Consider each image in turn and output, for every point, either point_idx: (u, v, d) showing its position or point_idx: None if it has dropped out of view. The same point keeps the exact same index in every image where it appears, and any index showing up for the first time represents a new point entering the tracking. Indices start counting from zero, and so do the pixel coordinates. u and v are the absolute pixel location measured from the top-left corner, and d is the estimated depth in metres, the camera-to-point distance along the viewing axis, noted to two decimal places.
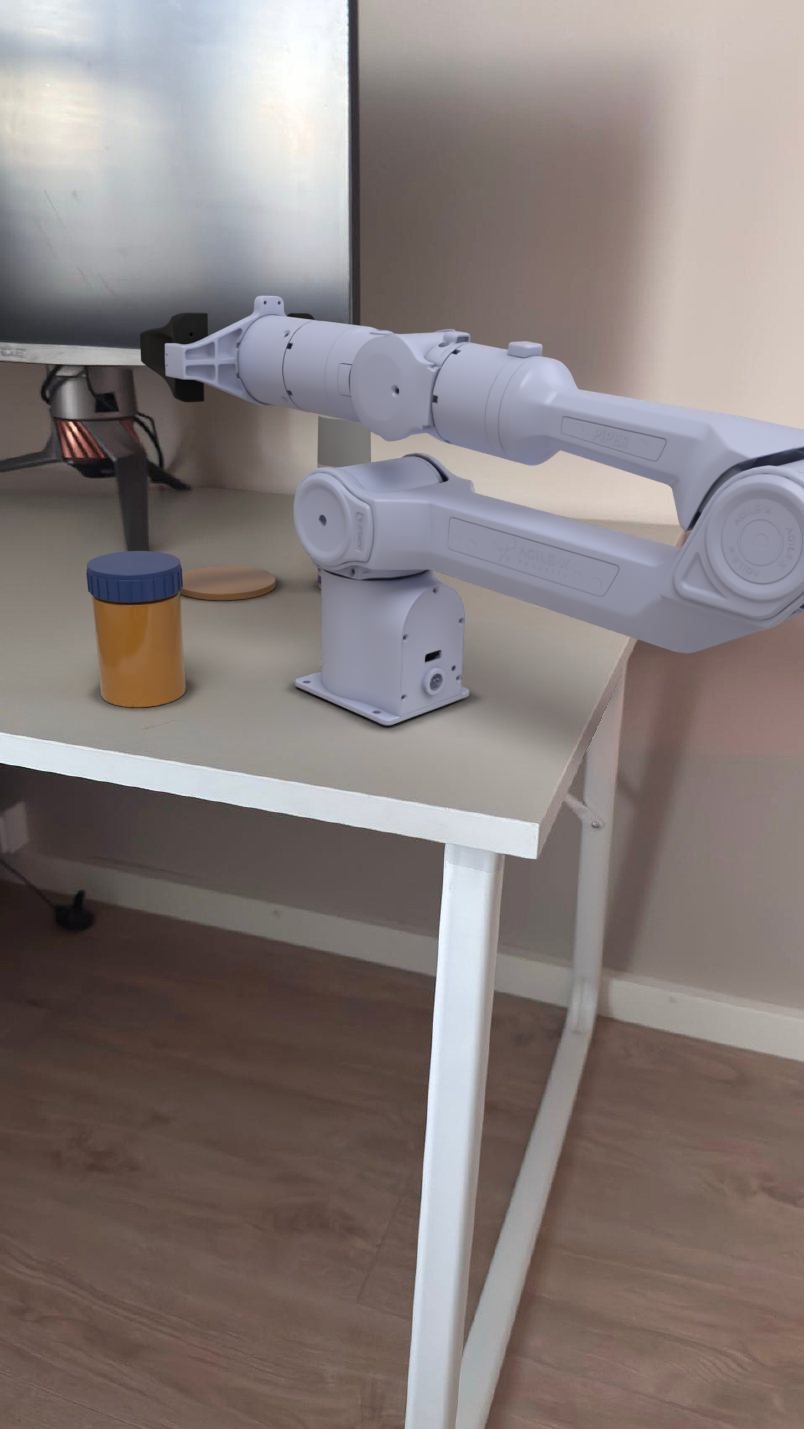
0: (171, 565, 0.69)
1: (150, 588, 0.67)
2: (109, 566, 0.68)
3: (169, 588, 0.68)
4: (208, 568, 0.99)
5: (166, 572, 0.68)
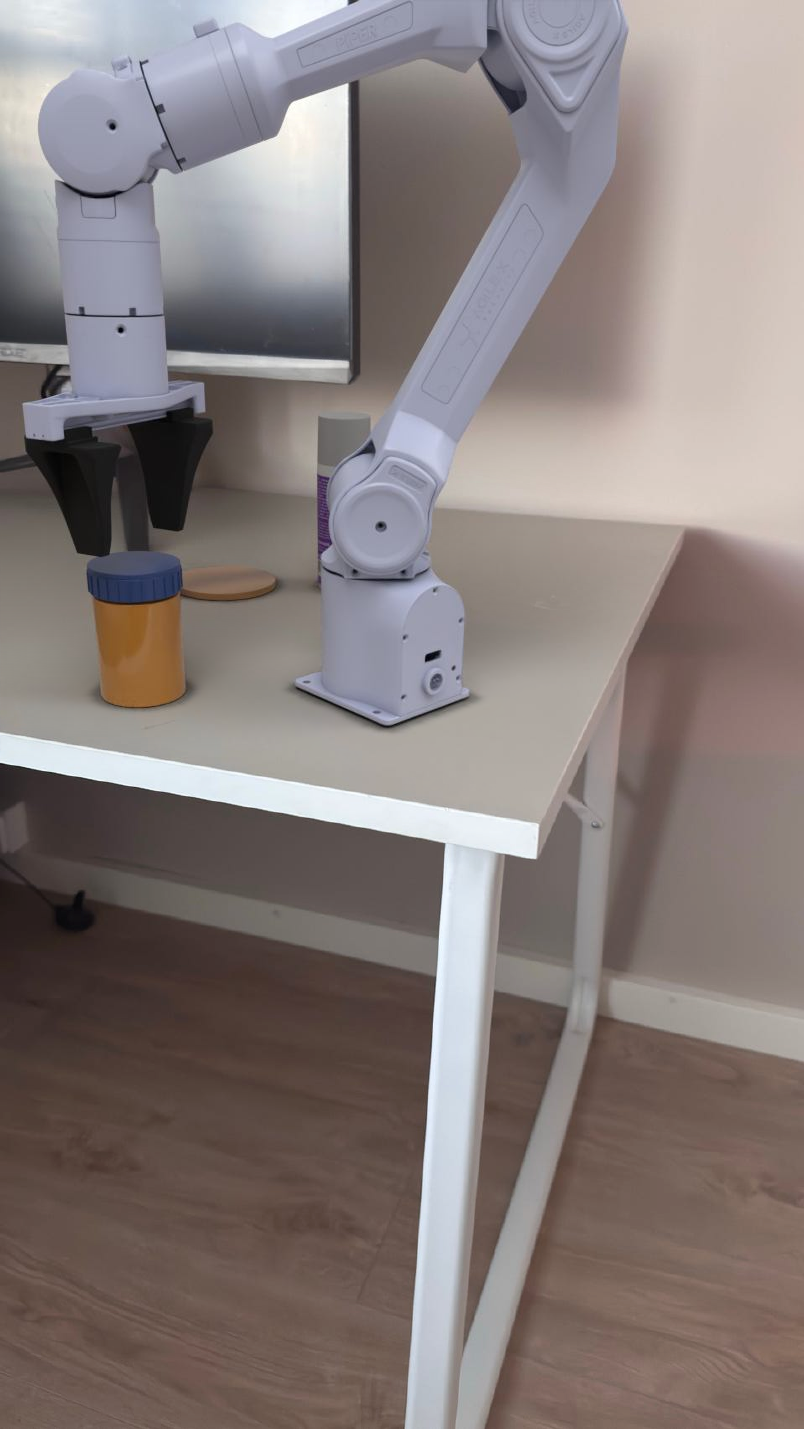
0: (171, 565, 0.69)
1: (150, 588, 0.67)
2: (109, 566, 0.68)
3: (169, 588, 0.68)
4: (208, 568, 0.99)
5: (166, 572, 0.68)
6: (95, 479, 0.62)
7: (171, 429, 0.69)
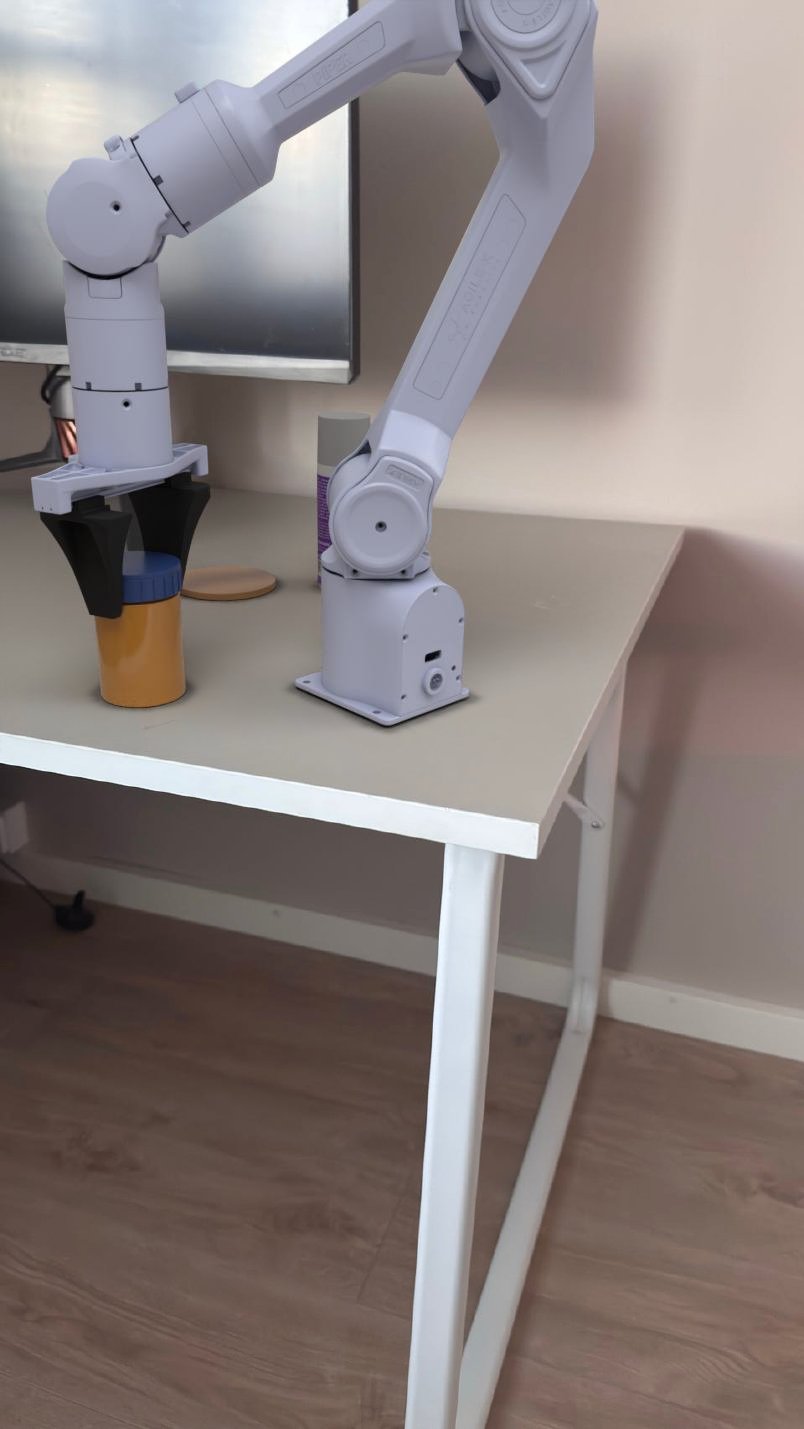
0: (171, 566, 0.69)
1: (150, 588, 0.67)
2: None
3: (169, 588, 0.68)
4: (208, 568, 0.99)
5: (166, 572, 0.68)
6: (108, 547, 0.64)
7: (169, 494, 0.70)
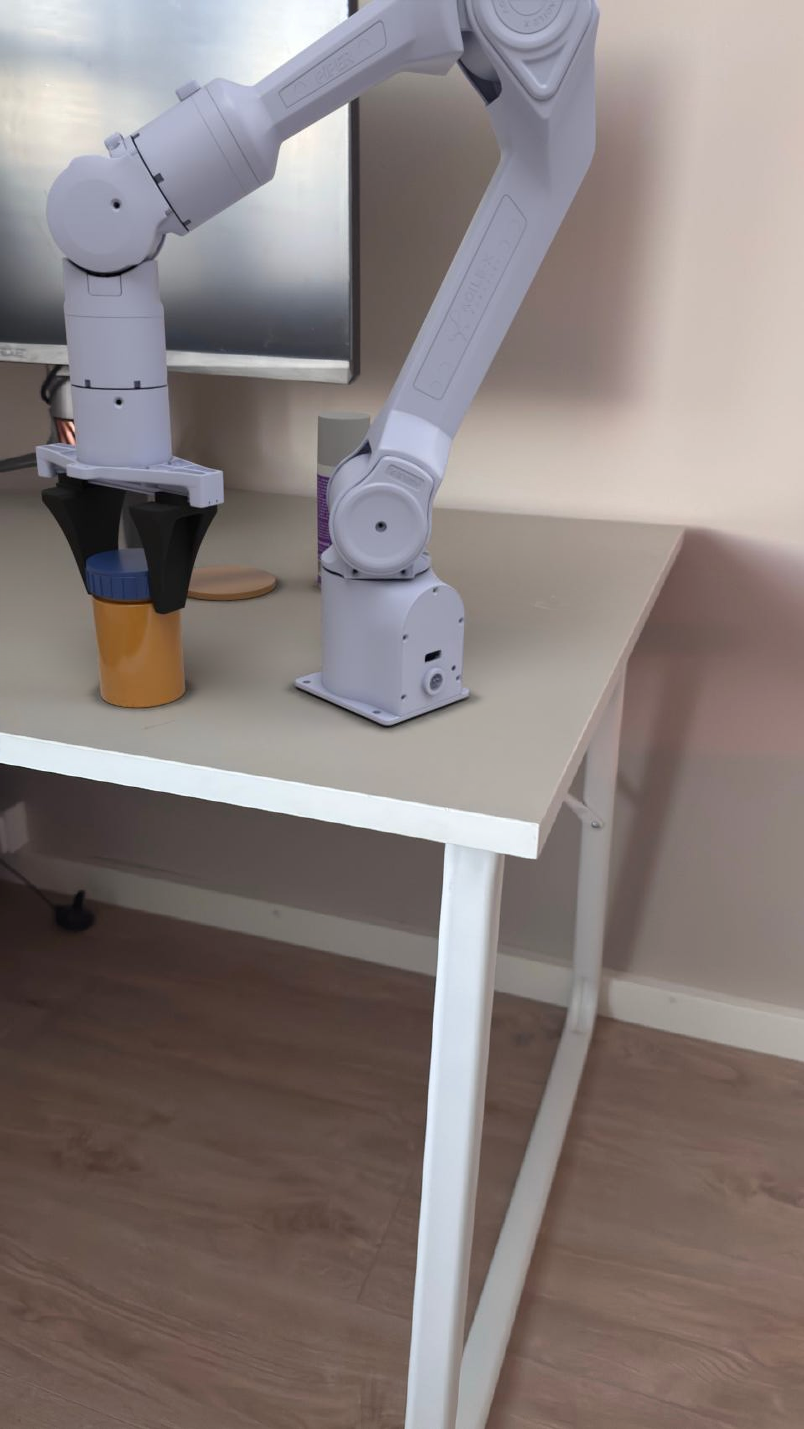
0: None
1: None
2: (141, 566, 0.68)
3: None
4: (208, 568, 0.99)
5: None
6: (206, 531, 0.67)
7: (105, 491, 0.70)
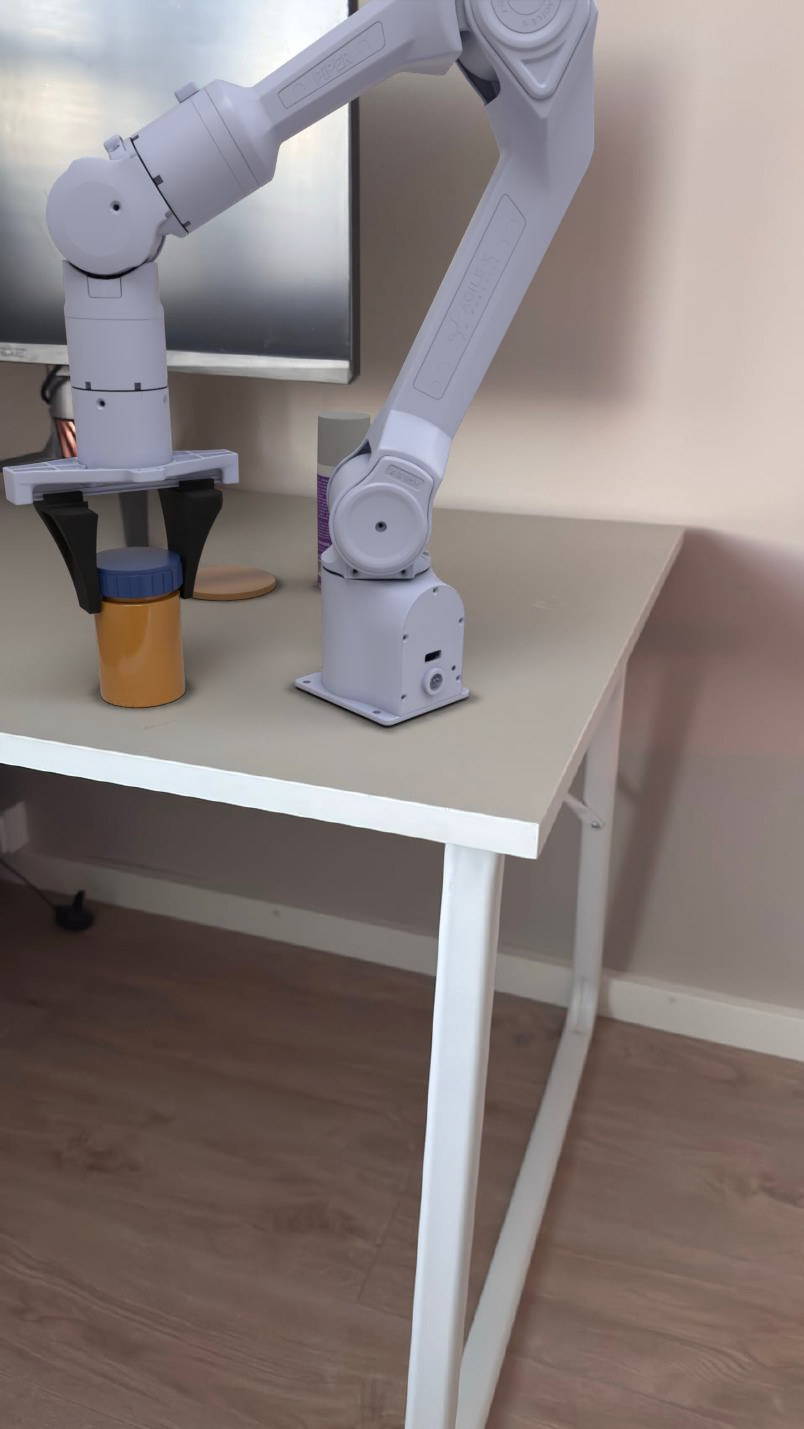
0: (112, 550, 0.71)
1: None
2: (160, 557, 0.69)
3: None
4: (208, 568, 0.99)
5: None
6: None
7: None
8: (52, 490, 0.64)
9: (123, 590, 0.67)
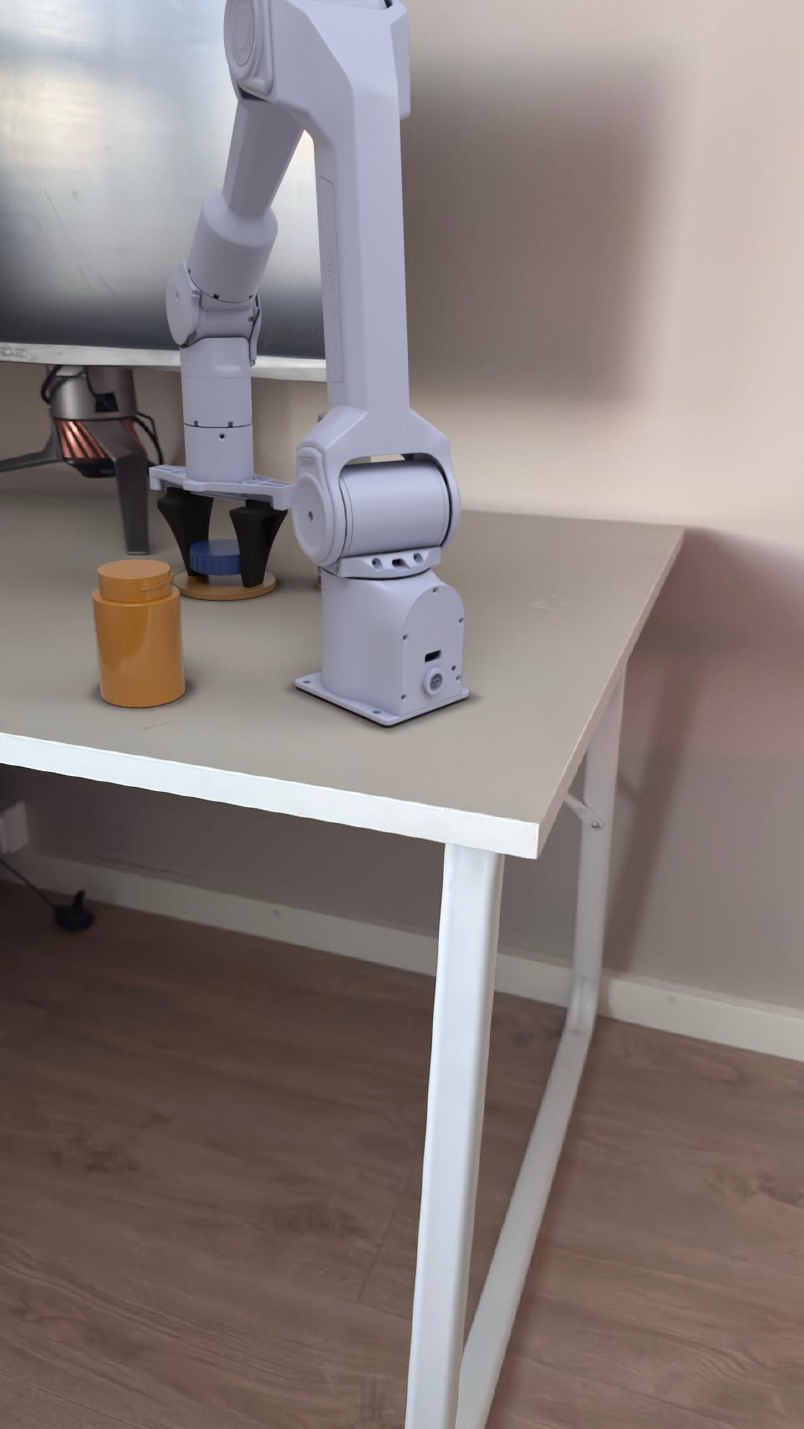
0: None
1: None
2: (231, 551, 0.93)
3: None
4: None
5: None
6: (279, 527, 0.93)
7: (201, 499, 0.95)
8: (176, 485, 0.95)
9: (191, 563, 0.94)
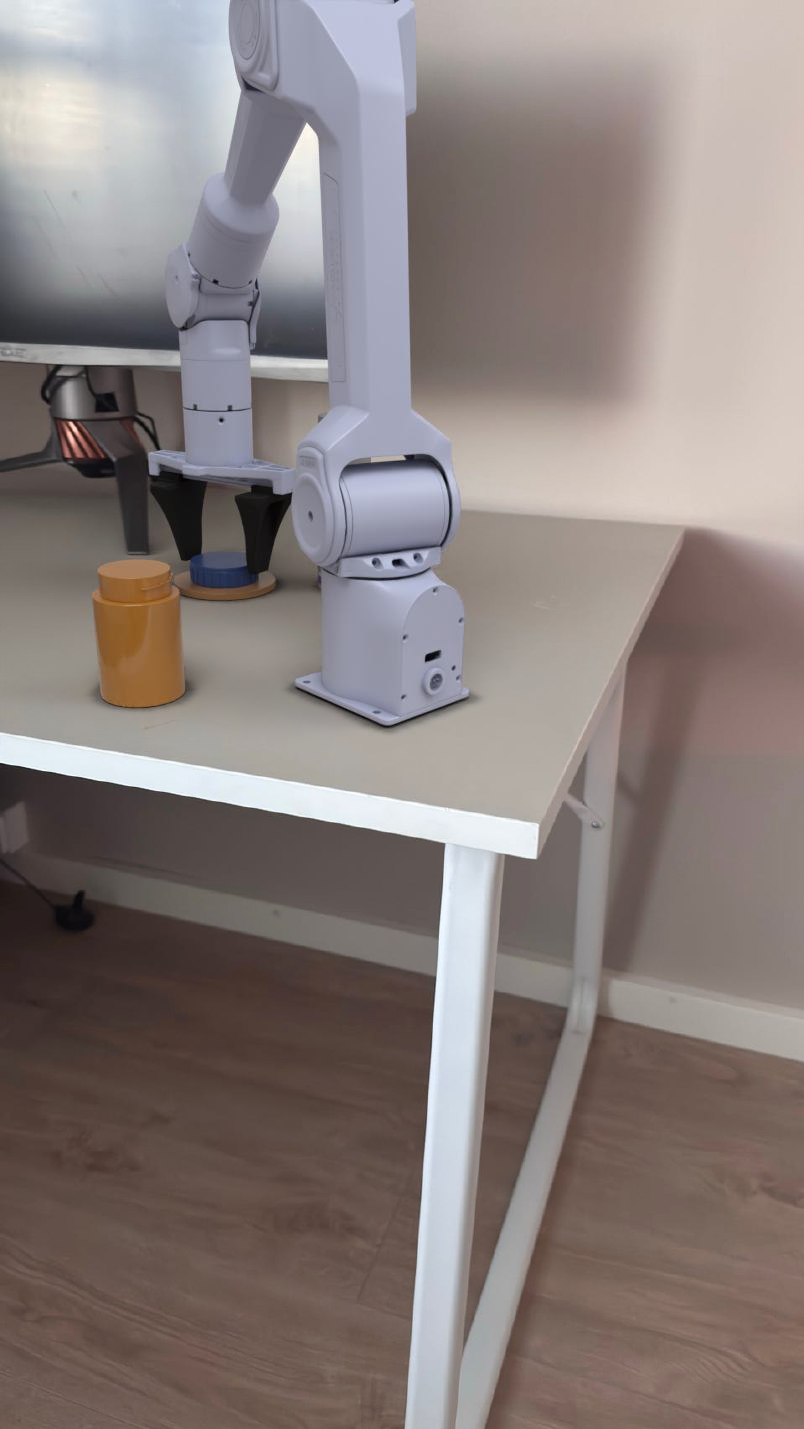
0: (237, 552, 0.97)
1: None
2: (232, 563, 0.94)
3: None
4: None
5: None
6: None
7: (194, 484, 0.95)
8: (175, 470, 0.94)
9: (192, 576, 0.95)
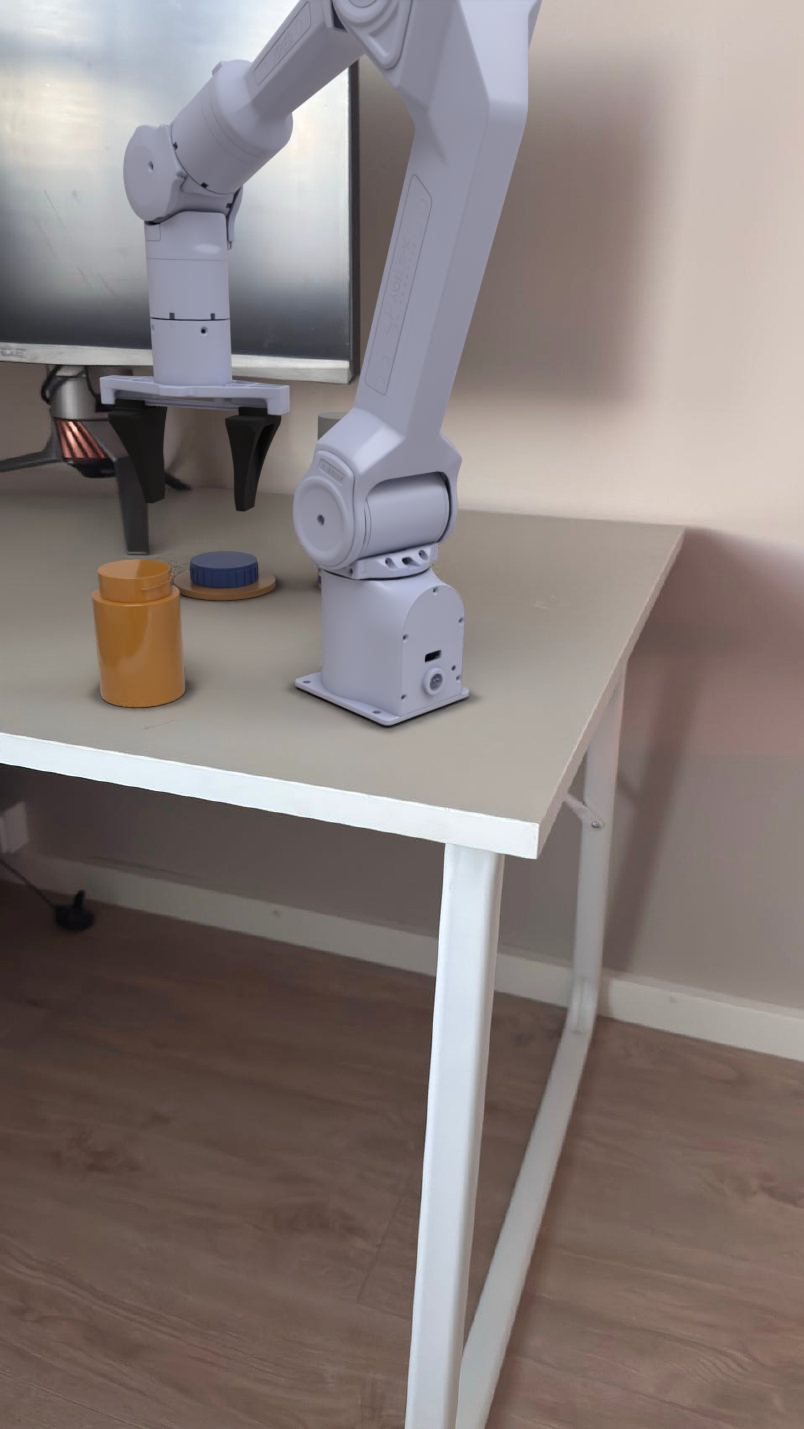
0: (237, 552, 0.97)
1: None
2: (232, 563, 0.94)
3: None
4: None
5: None
6: (271, 440, 0.82)
7: (155, 413, 0.82)
8: (134, 397, 0.81)
9: (192, 576, 0.95)
